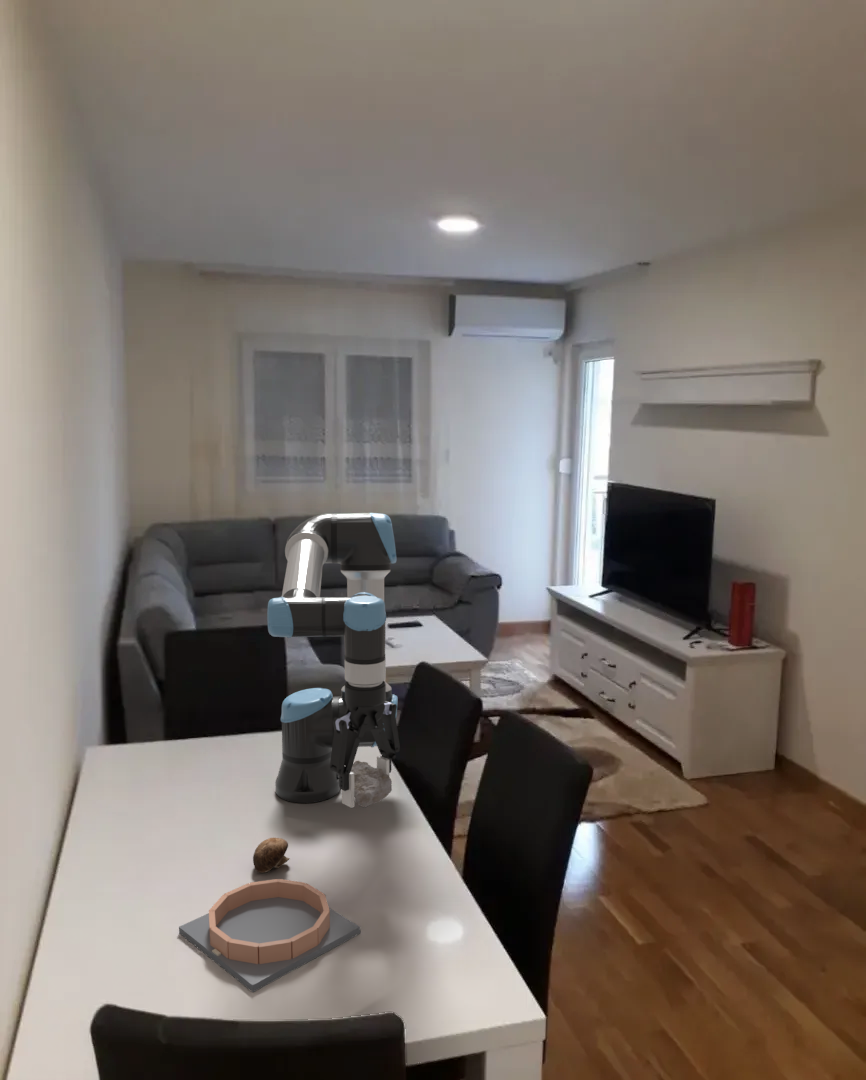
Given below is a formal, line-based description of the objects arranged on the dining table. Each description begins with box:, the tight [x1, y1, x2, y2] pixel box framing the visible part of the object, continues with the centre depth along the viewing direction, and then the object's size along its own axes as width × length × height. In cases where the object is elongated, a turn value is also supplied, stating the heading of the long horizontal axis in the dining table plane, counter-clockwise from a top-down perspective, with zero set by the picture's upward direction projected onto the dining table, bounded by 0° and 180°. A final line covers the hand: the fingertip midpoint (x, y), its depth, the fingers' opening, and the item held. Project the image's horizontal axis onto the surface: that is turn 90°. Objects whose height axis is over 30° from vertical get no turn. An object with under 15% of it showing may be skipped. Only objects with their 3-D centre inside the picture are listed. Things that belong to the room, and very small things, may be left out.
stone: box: [351, 760, 393, 808], centre depth 171 cm, size 10×8×6 cm
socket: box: [178, 878, 361, 993], centre depth 156 cm, size 22×22×4 cm
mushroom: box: [252, 837, 291, 874], centre depth 178 cm, size 8×8×6 cm
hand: (366, 797), depth 171 cm, fingers closed on stone, 8 cm apart
